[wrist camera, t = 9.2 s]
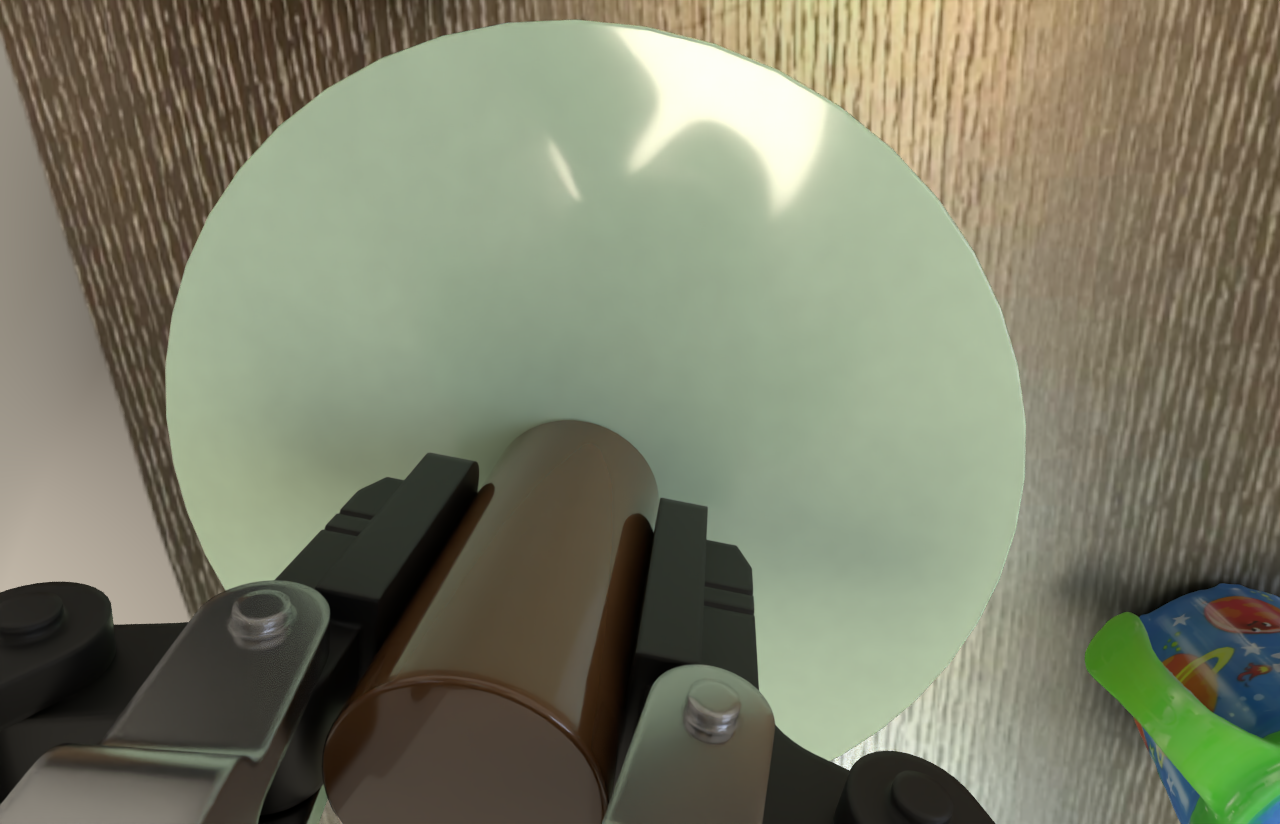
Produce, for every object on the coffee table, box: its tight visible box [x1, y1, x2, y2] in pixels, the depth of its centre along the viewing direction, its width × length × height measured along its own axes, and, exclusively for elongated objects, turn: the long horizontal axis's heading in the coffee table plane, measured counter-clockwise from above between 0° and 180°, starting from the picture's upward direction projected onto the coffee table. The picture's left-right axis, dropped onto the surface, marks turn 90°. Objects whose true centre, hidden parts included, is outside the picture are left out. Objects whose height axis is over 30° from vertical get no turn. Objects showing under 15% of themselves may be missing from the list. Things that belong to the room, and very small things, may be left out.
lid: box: [165, 19, 1026, 824], centre depth 11 cm, size 14×14×7 cm
